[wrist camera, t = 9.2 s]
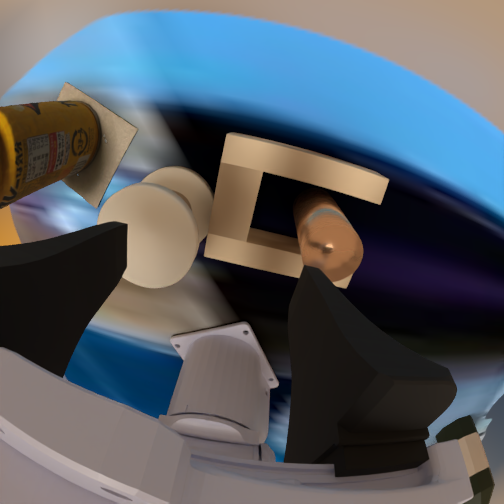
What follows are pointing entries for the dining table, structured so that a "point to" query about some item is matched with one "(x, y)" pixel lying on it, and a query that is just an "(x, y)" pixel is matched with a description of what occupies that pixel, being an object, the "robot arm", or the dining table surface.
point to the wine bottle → (471, 457)
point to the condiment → (60, 146)
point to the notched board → (246, 190)
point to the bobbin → (161, 224)
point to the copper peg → (326, 235)
